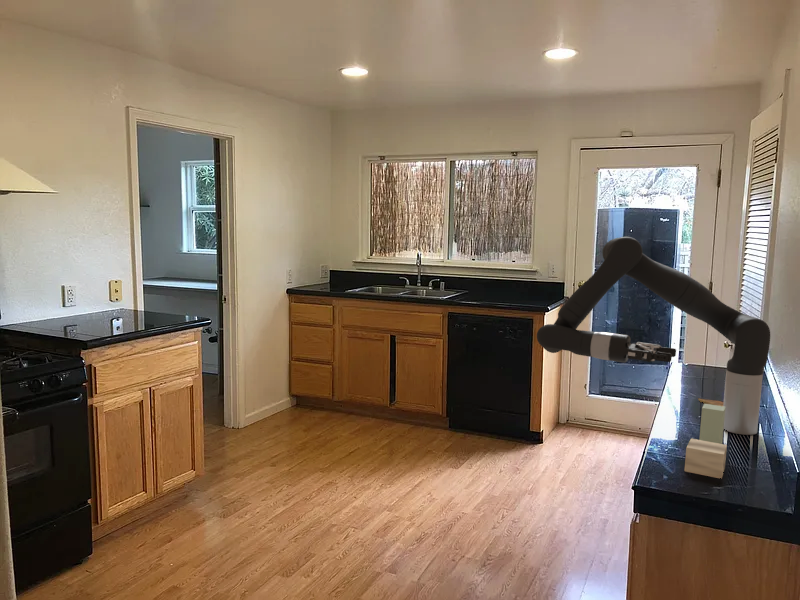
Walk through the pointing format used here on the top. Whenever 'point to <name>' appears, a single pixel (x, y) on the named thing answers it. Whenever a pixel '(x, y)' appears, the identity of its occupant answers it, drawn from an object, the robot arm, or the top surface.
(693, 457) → the birch base block
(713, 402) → the shard
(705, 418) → the sage block
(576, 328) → the robot arm
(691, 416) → the top surface
